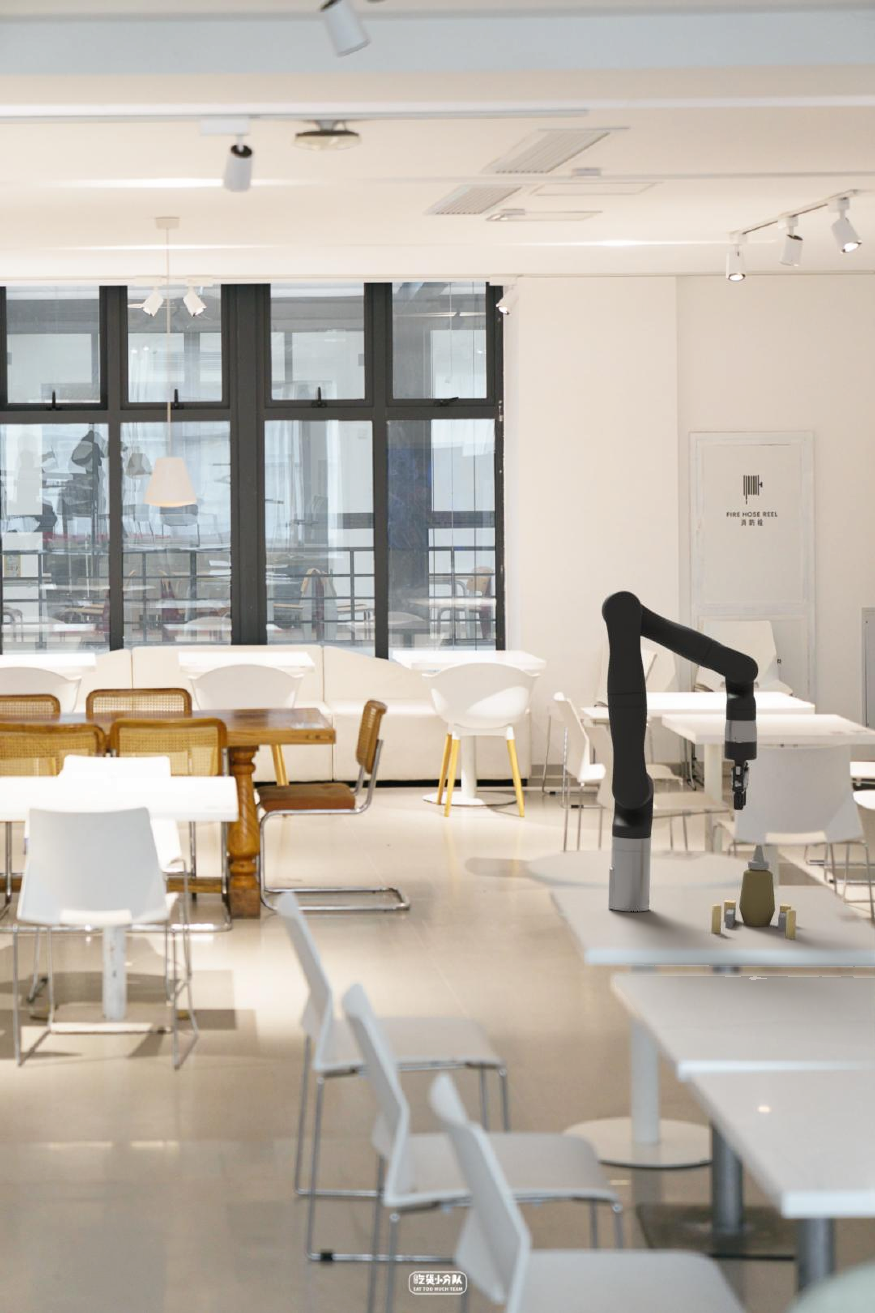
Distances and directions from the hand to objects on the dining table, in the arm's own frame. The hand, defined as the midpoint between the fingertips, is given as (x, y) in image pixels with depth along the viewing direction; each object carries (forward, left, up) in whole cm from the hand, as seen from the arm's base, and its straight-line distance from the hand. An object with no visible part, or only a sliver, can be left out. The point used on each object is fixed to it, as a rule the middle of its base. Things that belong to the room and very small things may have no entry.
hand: (739, 807), depth 361 cm
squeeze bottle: (+5, -14, -25) cm, 29 cm away
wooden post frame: (+5, -19, -25) cm, 32 cm away
